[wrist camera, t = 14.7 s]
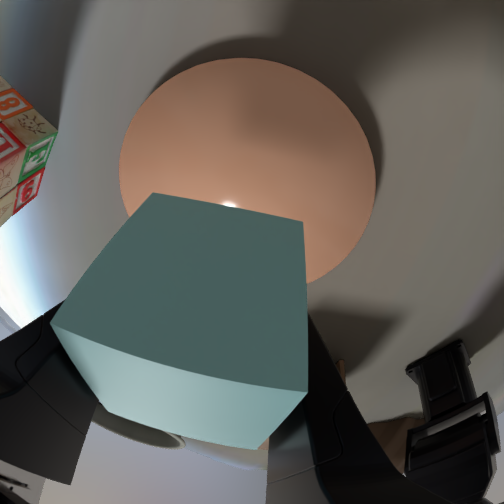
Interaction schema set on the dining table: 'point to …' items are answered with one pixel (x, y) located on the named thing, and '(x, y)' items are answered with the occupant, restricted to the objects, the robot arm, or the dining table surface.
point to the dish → (255, 151)
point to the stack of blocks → (21, 150)
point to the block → (194, 321)
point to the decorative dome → (394, 438)
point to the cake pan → (136, 430)
